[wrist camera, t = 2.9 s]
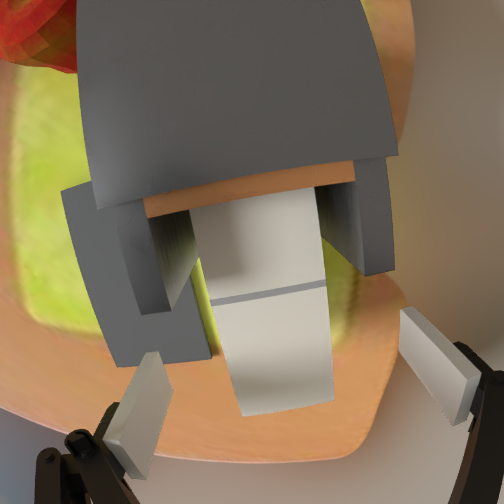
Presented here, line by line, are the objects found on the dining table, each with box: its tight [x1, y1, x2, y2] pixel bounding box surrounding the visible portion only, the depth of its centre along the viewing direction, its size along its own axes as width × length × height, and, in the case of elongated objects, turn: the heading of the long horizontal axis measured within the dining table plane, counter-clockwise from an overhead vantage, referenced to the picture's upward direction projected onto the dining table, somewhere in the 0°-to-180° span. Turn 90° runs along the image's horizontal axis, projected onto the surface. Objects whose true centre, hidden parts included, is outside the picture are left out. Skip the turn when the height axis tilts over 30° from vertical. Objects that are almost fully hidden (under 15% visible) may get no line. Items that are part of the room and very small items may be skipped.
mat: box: [61, 181, 212, 367], centre depth 23 cm, size 9×16×1 cm, turn 10°
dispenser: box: [76, 0, 398, 315], centre depth 14 cm, size 9×13×13 cm
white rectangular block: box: [189, 187, 334, 417], centre depth 18 cm, size 5×14×10 cm, turn 10°
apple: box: [0, 0, 78, 73], centre depth 12 cm, size 9×8×12 cm
